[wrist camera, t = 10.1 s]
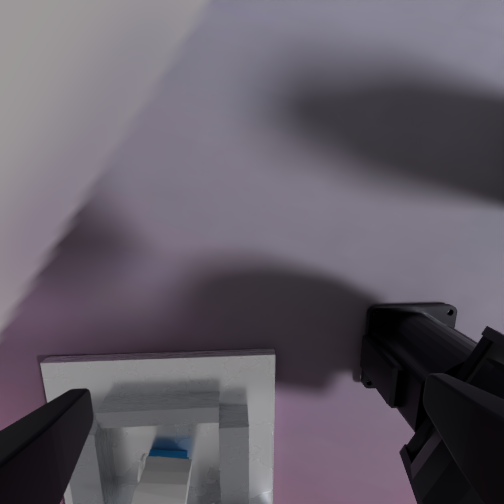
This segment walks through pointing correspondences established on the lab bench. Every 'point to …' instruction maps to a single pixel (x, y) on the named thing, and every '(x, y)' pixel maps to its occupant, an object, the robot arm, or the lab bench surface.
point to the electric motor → (163, 478)
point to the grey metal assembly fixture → (173, 421)
